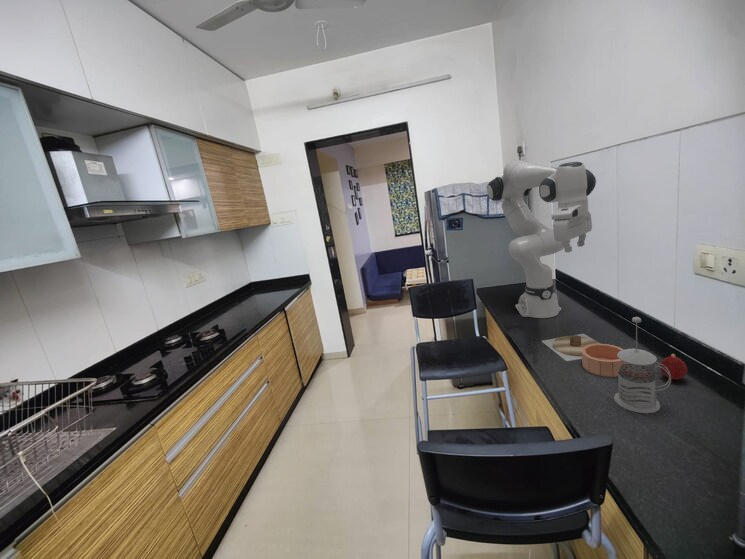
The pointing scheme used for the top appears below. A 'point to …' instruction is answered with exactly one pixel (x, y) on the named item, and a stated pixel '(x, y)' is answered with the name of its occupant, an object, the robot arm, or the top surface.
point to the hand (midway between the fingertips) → (574, 249)
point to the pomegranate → (674, 367)
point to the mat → (564, 356)
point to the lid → (572, 344)
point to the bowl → (602, 359)
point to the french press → (636, 394)
